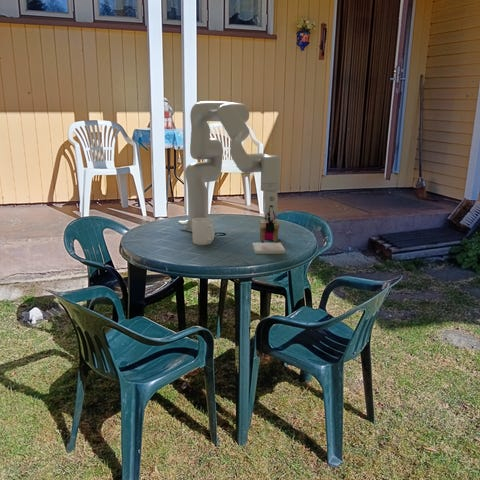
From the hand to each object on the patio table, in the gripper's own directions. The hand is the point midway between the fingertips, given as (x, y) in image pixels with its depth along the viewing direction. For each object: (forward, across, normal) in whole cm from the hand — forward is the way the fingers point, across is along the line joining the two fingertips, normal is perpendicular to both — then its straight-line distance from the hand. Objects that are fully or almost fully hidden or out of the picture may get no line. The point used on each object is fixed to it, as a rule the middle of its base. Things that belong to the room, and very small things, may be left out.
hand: (268, 230), depth 201 cm
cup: (+8, +10, +26) cm, 29 cm away
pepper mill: (+8, +18, -3) cm, 20 cm away
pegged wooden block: (+5, 0, 0) cm, 5 cm away
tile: (+8, 0, 0) cm, 8 cm away
